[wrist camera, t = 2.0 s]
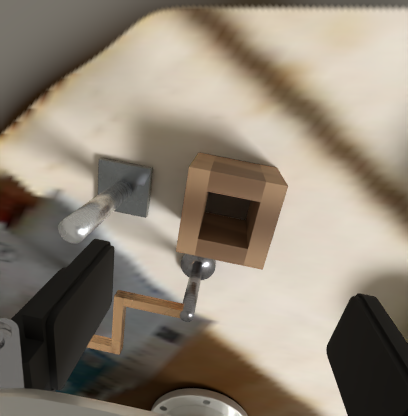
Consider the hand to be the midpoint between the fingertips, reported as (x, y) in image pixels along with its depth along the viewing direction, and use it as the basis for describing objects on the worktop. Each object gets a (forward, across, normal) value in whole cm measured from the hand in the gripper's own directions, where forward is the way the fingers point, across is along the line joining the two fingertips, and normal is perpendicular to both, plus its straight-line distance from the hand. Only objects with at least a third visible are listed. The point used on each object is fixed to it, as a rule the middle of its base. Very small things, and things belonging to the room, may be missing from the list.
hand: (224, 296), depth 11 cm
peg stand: (+13, +9, +2) cm, 16 cm away
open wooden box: (+13, 0, +1) cm, 13 cm away
